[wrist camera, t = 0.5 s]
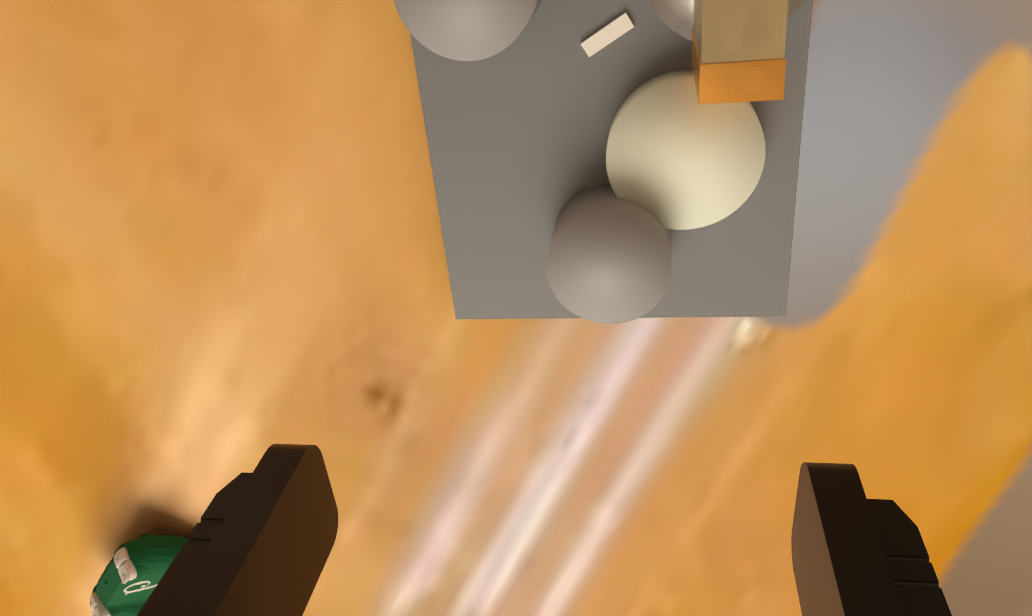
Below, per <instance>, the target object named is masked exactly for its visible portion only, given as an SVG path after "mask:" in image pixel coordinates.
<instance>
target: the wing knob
mask: <svg viewBox="0 0 1032 616" xmlns="http://www.w3.org/2000/svg"><path fill="white" fill-rule="evenodd" d="M650 2H651V4H652V6H653V8H654V10H655V11H656V13H657V14H658V16H659V17H660V18H661V19H662V20H663V22H664V23H665V24H666V25H667V26H668V27H670V28H671V29H672V30H673V31H674V32H676V33H677V34H679V35H681V36H682V37H684V38H686V39H688V40H690V41H692V70H693V76H694V81H695V86H696V91H697V96H698V102H699V104H716V103H734V102H751V101H769V100H783V99H784V85H785V71H786V58H785V42H786V28H787V20H788V19H789V18H790V17H791V16H792V15H793V14H794V13H795V12H796V11H797V9H798V8H799V7H800V6H801V4H802V3H803V2H804V0H650Z"/></svg>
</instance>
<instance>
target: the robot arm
mask: <svg viewBox="0 0 1032 616" xmlns="http://www.w3.org/2000/svg"><path fill="white" fill-rule="evenodd" d="M337 528H338V511H337V506H336V502H335V499H334V495H333V492H332V488H331V485H330V481H329V478H328V474H327V471H326V467H325V464H324V460H323V456H322V453H321V451H320V449H319V448H318V447H317V446H316V445H294V444H273V445H271V446H270V447H269V448H268V449H267V451H266V452H265V454H264V455H263V457H262V459H261V460H260V462H259V463H258V465H257V467H256V468H255V470H254V472H253V473H241V474H240V475H238V476H237V477H236V478H235V479H234V480H232V481H231V482H230V483H229V484H228V485H226V486H225V487H224V488H223V489H222V490H220V491H219V492H218V493H217V494H216V496H215V497H214V499H213V500H212V502H211V503H210V505H209V506H208V508H207V509H206V511H205V512H204V514H203V515H202V517H201V522H200V523H197V525H196V526H195V528H194V529H193V531H192V532H191V534H190V535H189V537H188V542H187V543H184V544H183V546H182V548H181V549H180V551H179V552H178V554H177V555H176V557H175V558H174V560H173V561H172V563H171V564H170V566H169V567H168V569H167V570H166V572H165V573H164V575H163V577H162V578H161V580H160V581H159V583H158V584H157V586H156V587H155V589H154V590H153V592H152V593H151V595H150V596H149V598H148V599H147V601H146V603H145V604H144V606H143V607H142V609H141V610H140V612H139V613H138V615H137V616H302V615H303V613H304V610H305V608H306V606H307V604H308V601H309V599H310V597H311V594H312V592H313V590H314V588H315V585H316V583H317V581H318V579H319V576H320V574H321V572H322V570H323V567H324V565H325V563H326V561H327V558H328V556H329V554H330V552H331V549H332V547H333V545H334V542H335V539H336V534H337ZM792 562H793V570H794V575H795V580H796V585H797V591H798V596H799V601H800V606H801V611H802V616H952V615H951V612H950V610H949V607H948V605H947V602H946V599H945V597H944V594H943V592H942V589H941V588H939V581H938V579H937V576H936V573H935V571H934V568H933V566H932V563H930V562H929V555H928V553H927V550H926V548H925V545H924V542H923V540H922V537H921V535H920V532H919V530H918V527H917V526H916V525H915V524H914V523H913V521H912V520H911V519H910V518H909V517H908V516H907V515H906V514H905V513H904V512H903V511H902V510H901V509H900V507H899V506H898V505H897V504H896V503H895V502H894V501H893V500H881V499H866V496H865V493H864V490H863V487H862V484H861V480H860V477H859V474H858V472H857V469H856V467H855V466H854V465H853V464H835V463H802V465H801V469H800V475H799V482H798V490H797V497H796V505H795V512H794V520H793V527H792Z"/></svg>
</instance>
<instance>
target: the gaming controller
mask: <svg viewBox="0 0 1032 616" xmlns="http://www.w3.org/2000/svg"><path fill="white" fill-rule="evenodd" d="M187 542H188V537H181V536H173V535H149V533H147V534H142V535H141V536H140V538H137V539H134V540H131V541H128V542H126V543H124V544H122V545H121V546H120V547H119V548H118V549H117V550H116V552H115V553H114V555H115V556H114V557H113V558H112V560H111V561H110V563H109V564H108V565H107V567H106V569H105V570H104V572H103V574H102V575H101V577H100V579H99V581H98V583H97V585H96V586H95V587H94V589H93V592H92V594H91V597H90V606H91V610H92V611H93V613H92V614H93V616H137V615H138V613H139V612H140V610H141V609H142V607H143V606H144V604H145V603H146V601H147V599H148V598H149V596H150V595H151V593H152V592H153V590H154V589H155V587H156V586H157V584H158V583H159V581H160V580H161V578H162V577H163V575H164V573H165V572H166V570H167V569H168V567H169V566H170V564H171V563H172V561H173V560H174V558H175V557H176V555H177V554H178V552H179V551H180V549H181V548H182V546H183V544H184V543H187Z"/></svg>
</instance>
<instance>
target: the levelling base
mask: <svg viewBox="0 0 1032 616" xmlns="http://www.w3.org/2000/svg"><path fill="white" fill-rule="evenodd" d="M394 3H395V5H396V8H397V11H398V13H399V15H400V17H401V19H402V21H403V23H404V24H405V26H406V28H407V29H408V30H409V32H410V34H411V41H412V47H413V53H414V59H415V66H416V72H417V78H418V84H419V91H420V97H421V103H422V109H423V116H424V122H425V128H426V134H427V141H428V147H429V153H430V159H431V166H432V172H433V178H434V184H435V191H436V197H437V203H438V209H439V216H440V222H441V228H442V234H443V241H444V247H445V253H446V259H447V266H448V272H449V278H450V284H451V291H452V297H453V303H454V309H455V316H456V319H540V318H583V319H586V320H589V321H592V322H596V323H603V324H616V323H623V322H628V321H631V320H634V319H637V318H651V317H762V316H786V307H787V295H788V283H789V271H790V260H791V248H792V235H793V224H794V212H795V201H796V189H797V177H798V165H799V153H800V142H801V128H802V118H803V106H804V95H805V82H806V71H807V59H808V47H809V36H810V24H811V12H812V0H804V2H803V3H802V4H801V6H800V7H799V8H798V9H797V11H796V12H795V13H794V14H793V15H792V16H791V17H790V18H789V19H788V20H787V28H786V42H785V58H786V71H785V85H784V99H783V100H769V101H751V102H734V103H716V104H699V102H698V96H697V91H696V86H695V81H694V76H693V70H692V41H690V40H688V39H686V38H684V37H682V36H681V35H679V34H677V33H676V32H674V31H673V30H672V29H671V28H670V27H668V26H667V25H666V24H665V23H664V22H663V20H662V19H661V18H660V17H659V16H658V14H657V13H656V11H655V10H654V8H653V6H652V4H651V2H650V0H394Z"/></svg>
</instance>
